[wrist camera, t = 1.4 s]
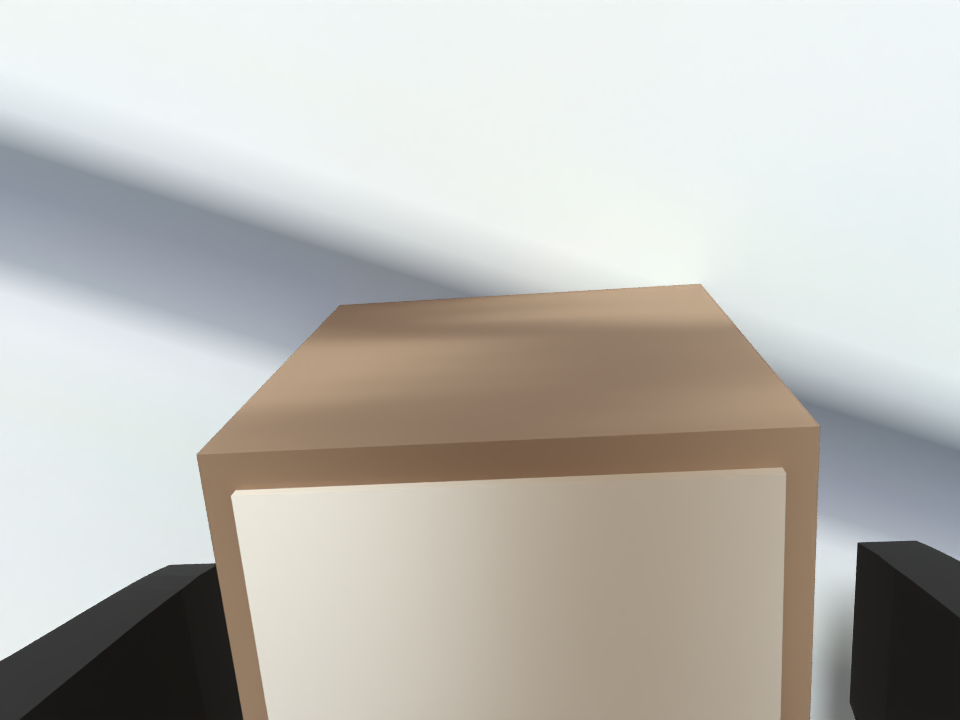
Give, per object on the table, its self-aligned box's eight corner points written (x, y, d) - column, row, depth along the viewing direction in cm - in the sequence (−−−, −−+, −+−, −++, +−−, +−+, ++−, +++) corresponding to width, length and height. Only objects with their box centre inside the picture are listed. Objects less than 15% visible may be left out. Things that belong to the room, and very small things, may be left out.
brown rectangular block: (396, 758, 13) (312, 1140, 8) (341, 302, 11) (191, 459, 6) (701, 753, 13) (797, 1151, 8) (698, 282, 11) (824, 431, 6)
